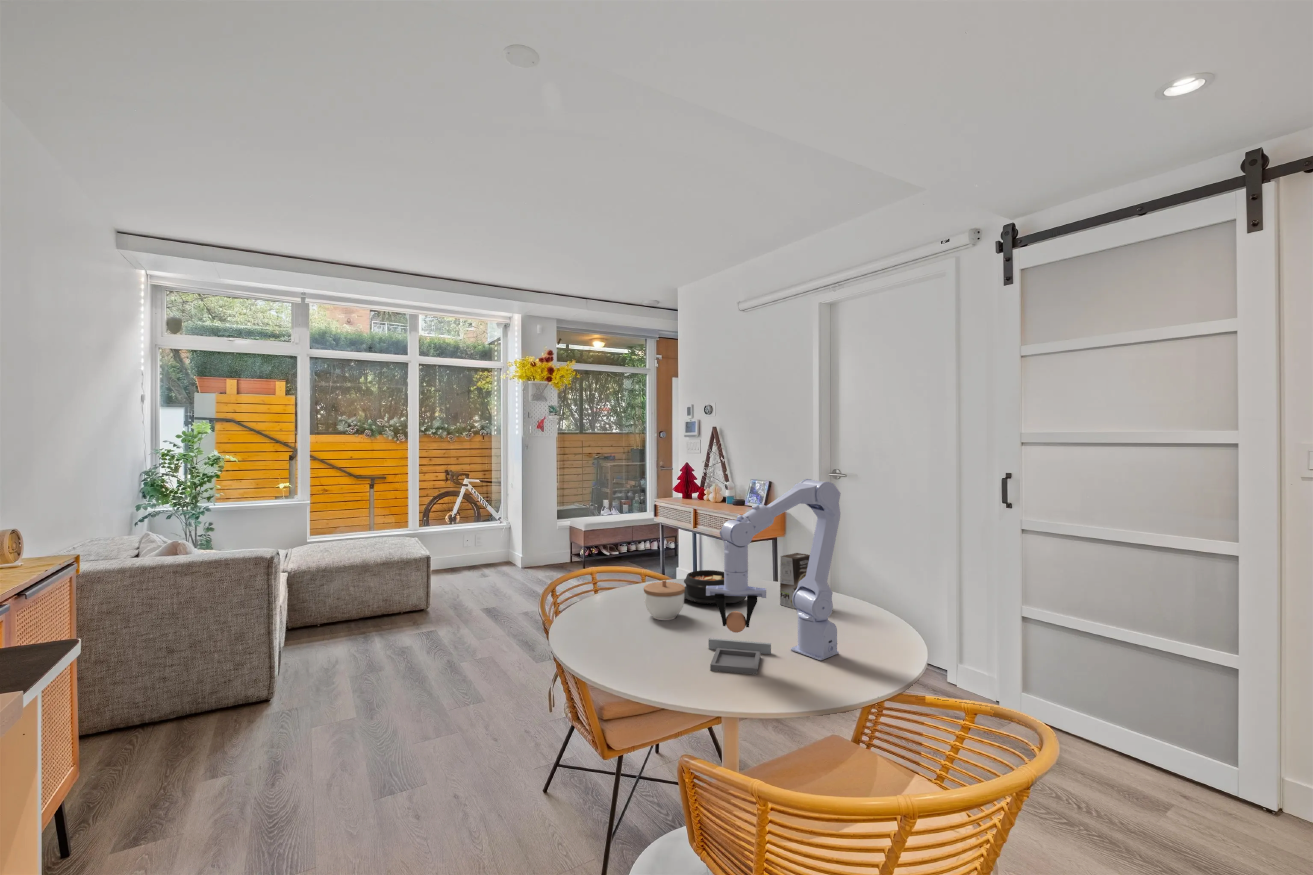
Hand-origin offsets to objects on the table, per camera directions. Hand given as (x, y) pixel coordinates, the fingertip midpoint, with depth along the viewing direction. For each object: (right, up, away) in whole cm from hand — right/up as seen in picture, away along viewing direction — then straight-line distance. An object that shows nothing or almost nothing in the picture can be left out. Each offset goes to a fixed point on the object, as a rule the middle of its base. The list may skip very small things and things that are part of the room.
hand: (735, 625), depth 146 cm
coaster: (0, -9, 0) cm, 9 cm away
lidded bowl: (-17, -9, +37) cm, 41 cm away
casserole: (-2, -9, +54) cm, 55 cm away
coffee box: (+26, -9, +49) cm, 56 cm away
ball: (0, -2, 0) cm, 2 cm away
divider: (+2, -9, +8) cm, 13 cm away
